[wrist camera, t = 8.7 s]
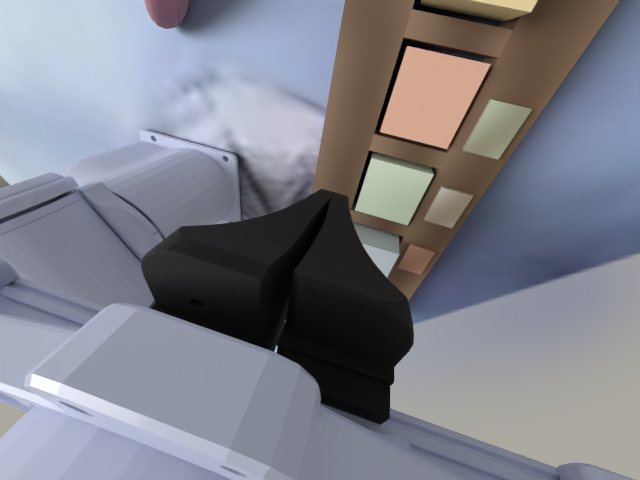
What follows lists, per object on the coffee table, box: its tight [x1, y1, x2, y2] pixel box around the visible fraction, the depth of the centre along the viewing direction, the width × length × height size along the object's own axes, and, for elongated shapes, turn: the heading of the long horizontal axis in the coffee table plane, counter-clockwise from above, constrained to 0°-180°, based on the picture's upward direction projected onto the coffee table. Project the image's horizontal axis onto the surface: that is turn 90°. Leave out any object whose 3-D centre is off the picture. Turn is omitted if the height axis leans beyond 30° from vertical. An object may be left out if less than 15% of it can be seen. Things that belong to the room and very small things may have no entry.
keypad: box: [312, 0, 620, 301], centre depth 17 cm, size 11×29×3 cm, turn 170°
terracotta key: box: [380, 46, 491, 149], centre depth 13 cm, size 4×4×3 cm
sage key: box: [355, 152, 434, 225], centre depth 17 cm, size 4×4×3 cm
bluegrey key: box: [353, 222, 399, 277], centre depth 19 cm, size 4×4×3 cm
